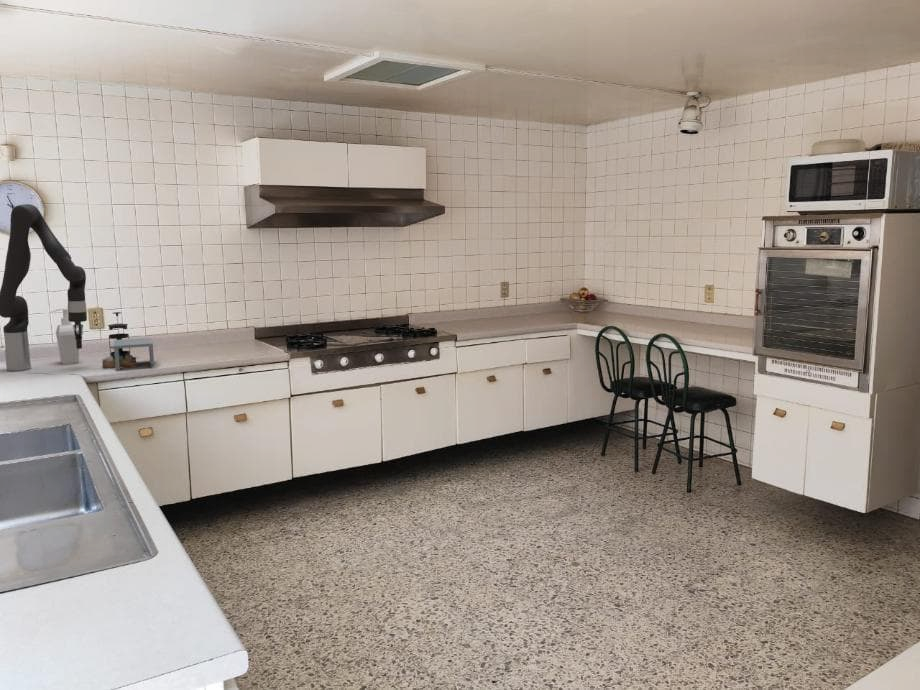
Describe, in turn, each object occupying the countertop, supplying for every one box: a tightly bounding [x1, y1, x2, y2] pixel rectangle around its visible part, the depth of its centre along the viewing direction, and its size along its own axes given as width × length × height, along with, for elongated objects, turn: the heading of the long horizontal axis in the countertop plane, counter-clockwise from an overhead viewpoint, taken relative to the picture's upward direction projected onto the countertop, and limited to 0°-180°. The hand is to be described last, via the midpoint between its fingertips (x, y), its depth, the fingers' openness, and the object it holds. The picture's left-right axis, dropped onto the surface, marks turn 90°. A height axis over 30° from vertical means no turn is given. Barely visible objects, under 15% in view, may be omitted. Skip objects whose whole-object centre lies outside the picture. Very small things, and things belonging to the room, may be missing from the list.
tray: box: [101, 354, 137, 369], centre depth 339 cm, size 14×6×5 cm, turn 114°
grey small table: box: [113, 337, 155, 371], centre depth 341 cm, size 16×20×11 cm
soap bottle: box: [50, 308, 80, 365], centre depth 349 cm, size 12×10×26 cm
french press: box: [107, 311, 131, 359], centre depth 358 cm, size 12×9×23 cm
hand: (79, 348), depth 335 cm, fingers closed
